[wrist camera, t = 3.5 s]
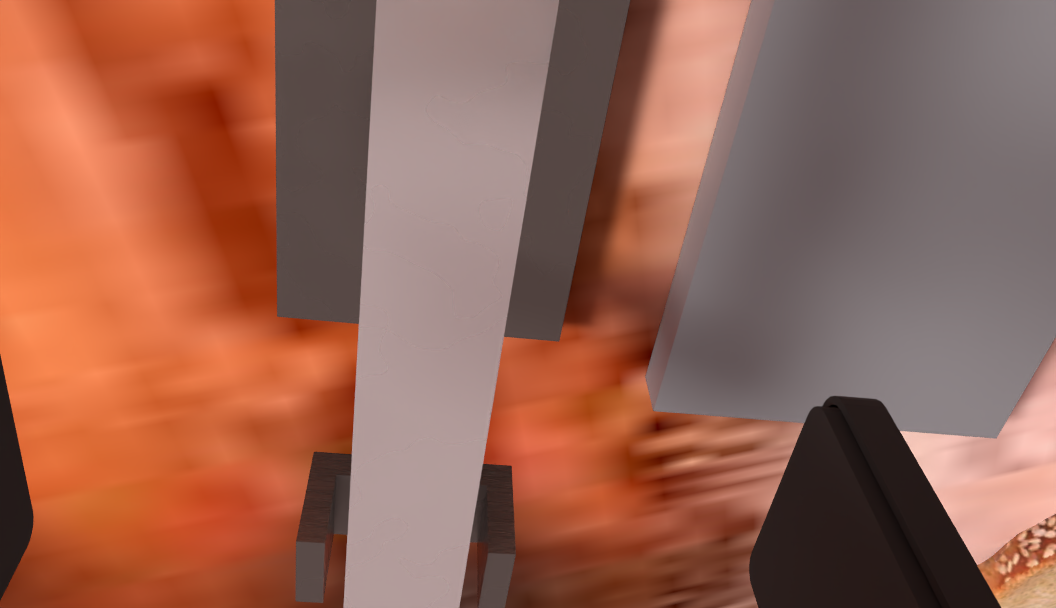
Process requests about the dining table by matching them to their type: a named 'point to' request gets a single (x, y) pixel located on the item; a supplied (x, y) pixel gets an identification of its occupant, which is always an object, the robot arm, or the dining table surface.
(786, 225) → the board
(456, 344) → the rail
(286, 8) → the rack
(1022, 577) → the bread slice
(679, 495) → the dining table surface
